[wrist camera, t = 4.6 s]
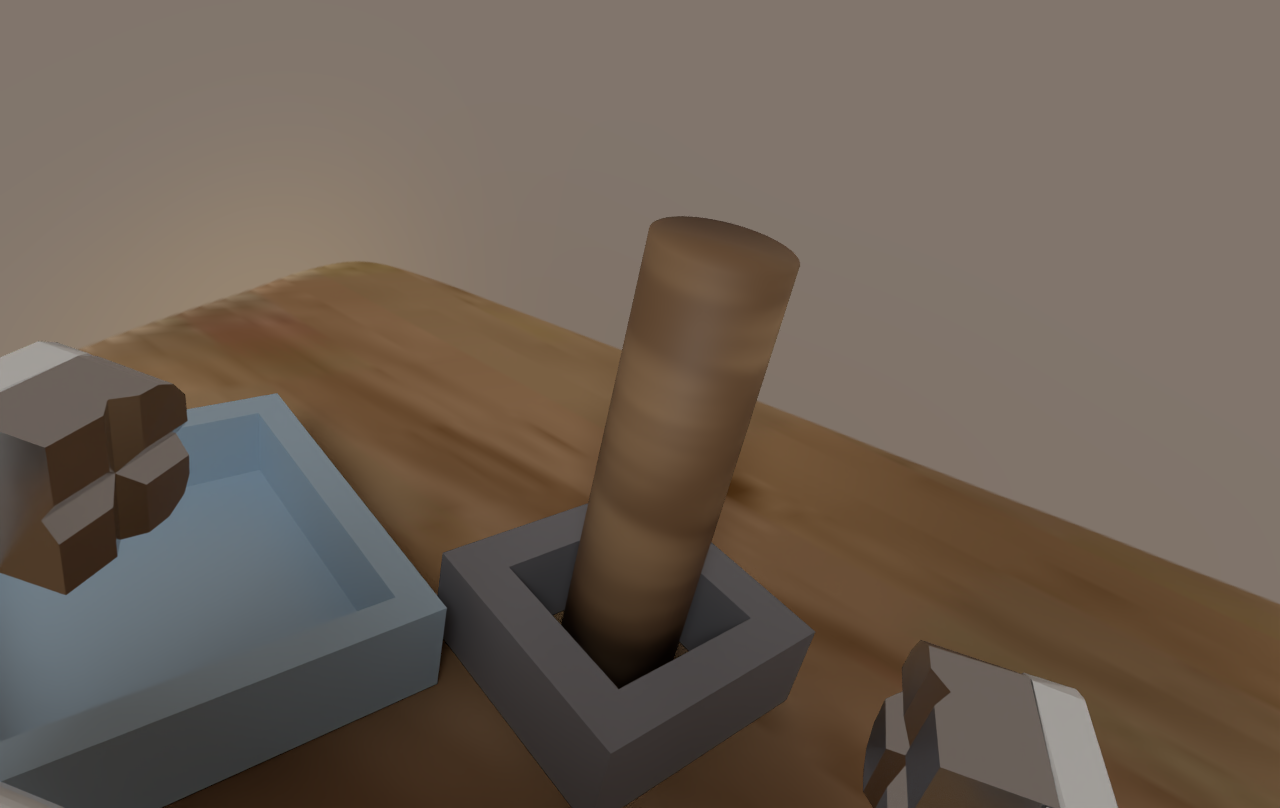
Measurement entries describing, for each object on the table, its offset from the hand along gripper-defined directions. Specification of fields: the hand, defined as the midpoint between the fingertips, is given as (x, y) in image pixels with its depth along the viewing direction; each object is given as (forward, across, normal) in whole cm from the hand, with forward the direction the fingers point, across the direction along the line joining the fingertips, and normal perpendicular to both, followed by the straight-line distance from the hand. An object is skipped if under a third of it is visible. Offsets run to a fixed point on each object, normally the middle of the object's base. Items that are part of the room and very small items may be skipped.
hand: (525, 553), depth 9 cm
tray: (+8, +12, +14) cm, 21 cm away
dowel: (+13, 0, +14) cm, 19 cm away
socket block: (+13, 0, +14) cm, 19 cm away
